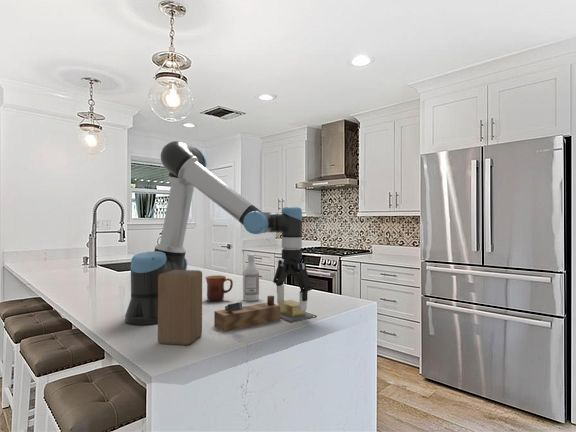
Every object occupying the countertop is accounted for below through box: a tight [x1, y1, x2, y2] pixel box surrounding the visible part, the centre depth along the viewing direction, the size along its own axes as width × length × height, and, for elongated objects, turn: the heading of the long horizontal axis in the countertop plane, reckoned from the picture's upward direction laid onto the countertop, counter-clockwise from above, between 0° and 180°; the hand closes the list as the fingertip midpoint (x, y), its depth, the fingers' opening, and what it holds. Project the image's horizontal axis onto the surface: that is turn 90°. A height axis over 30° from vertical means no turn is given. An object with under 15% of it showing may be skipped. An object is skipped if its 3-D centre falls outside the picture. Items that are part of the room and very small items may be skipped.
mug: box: [205, 274, 234, 303], centre depth 162 cm, size 12×9×10 cm
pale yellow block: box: [277, 299, 306, 318], centre depth 137 cm, size 6×9×4 cm, turn 37°
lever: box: [224, 302, 243, 312], centre depth 119 cm, size 2×2×9 cm
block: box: [157, 269, 203, 346], centre depth 109 cm, size 10×10×20 cm
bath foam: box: [242, 253, 260, 302], centre depth 164 cm, size 7×7×20 cm
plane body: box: [213, 295, 281, 332], centre depth 127 cm, size 22×7×8 cm, turn 127°
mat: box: [280, 311, 317, 323], centre depth 137 cm, size 12×14×1 cm
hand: (291, 306), depth 137 cm, fingers open, 13 cm apart
